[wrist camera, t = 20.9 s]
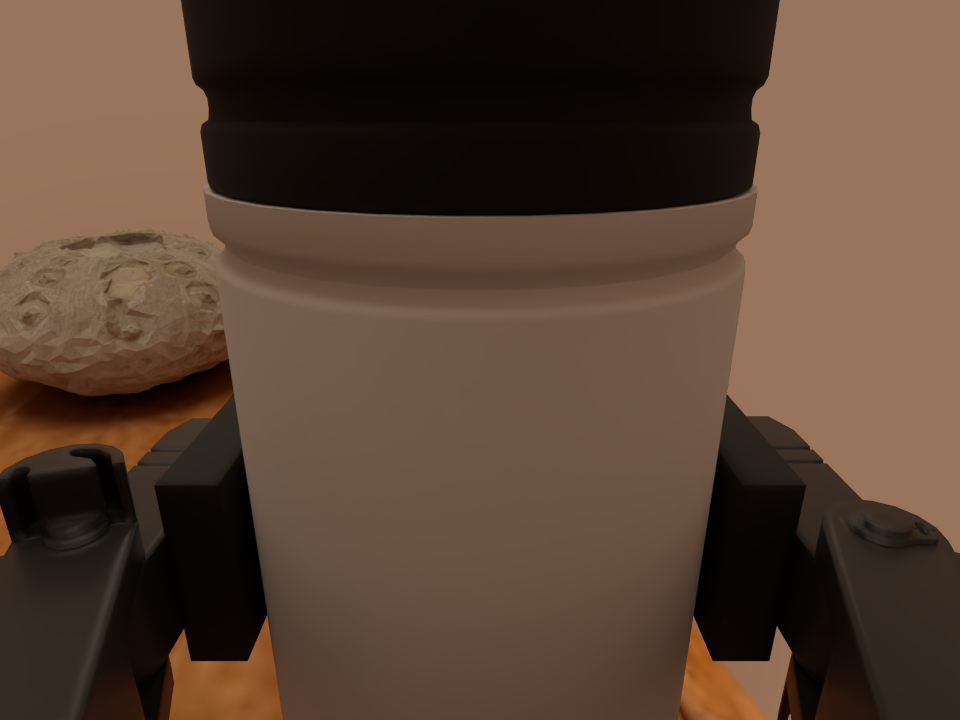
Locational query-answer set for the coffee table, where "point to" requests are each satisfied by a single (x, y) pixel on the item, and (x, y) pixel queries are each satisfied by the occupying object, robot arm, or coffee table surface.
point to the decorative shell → (111, 312)
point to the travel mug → (480, 336)
